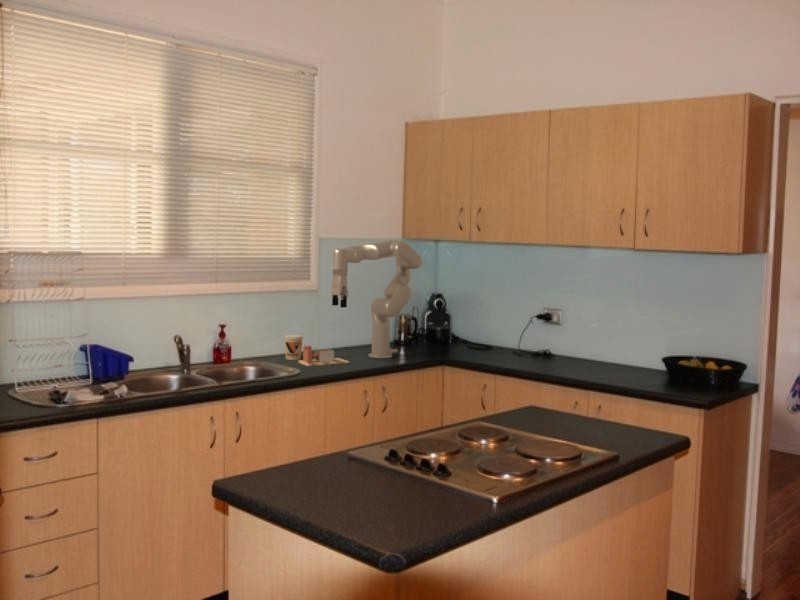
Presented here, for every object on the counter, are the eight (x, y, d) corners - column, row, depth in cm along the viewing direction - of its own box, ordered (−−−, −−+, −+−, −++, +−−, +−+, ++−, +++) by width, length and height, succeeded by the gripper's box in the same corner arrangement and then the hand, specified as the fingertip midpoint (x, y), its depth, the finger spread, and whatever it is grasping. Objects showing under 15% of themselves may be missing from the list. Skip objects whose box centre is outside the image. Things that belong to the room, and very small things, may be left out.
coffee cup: (282, 360, 426) (283, 336, 425) (285, 357, 436) (286, 334, 435) (300, 360, 426) (301, 337, 425) (303, 357, 435) (304, 334, 434)
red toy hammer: (327, 359, 425) (327, 344, 424) (332, 361, 420) (332, 345, 419) (301, 361, 418) (301, 345, 417) (306, 363, 413) (306, 347, 412)
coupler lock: (328, 359, 426) (328, 349, 425) (334, 361, 420) (334, 350, 420) (314, 360, 422) (314, 349, 421) (319, 362, 416) (319, 351, 416)
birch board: (339, 359, 432) (339, 357, 432) (349, 363, 422) (349, 361, 421) (298, 362, 420) (298, 360, 420) (307, 366, 410) (307, 364, 410)
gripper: (326, 271, 430) (325, 304, 431) (340, 274, 415) (340, 308, 416) (339, 271, 433) (338, 304, 435) (354, 274, 418) (353, 307, 420)
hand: (339, 306), depth 426 cm, fingers open, 9 cm apart
